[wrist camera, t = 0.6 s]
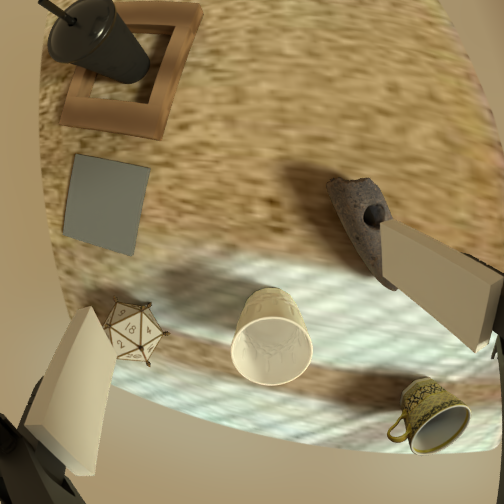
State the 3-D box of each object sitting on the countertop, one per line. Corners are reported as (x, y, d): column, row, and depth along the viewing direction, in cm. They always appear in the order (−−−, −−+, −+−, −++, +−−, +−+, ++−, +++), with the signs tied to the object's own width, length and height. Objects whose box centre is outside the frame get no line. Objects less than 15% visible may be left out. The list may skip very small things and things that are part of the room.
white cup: (236, 336, 40) (228, 381, 30) (241, 279, 38) (233, 312, 28) (297, 342, 39) (305, 387, 30) (306, 285, 38) (319, 320, 28)
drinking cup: (101, 60, 32) (6, 3, 13) (150, 32, 31) (76, -50, 12) (115, 104, 33) (9, 60, 14) (167, 76, 33) (87, -1, 13)
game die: (162, 304, 43) (192, 334, 35) (134, 352, 42) (157, 391, 34) (110, 275, 38) (127, 302, 30) (81, 328, 36) (92, 367, 28)
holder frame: (112, 11, 30) (103, 3, 27) (203, 14, 30) (199, 3, 28) (71, 126, 34) (58, 124, 31) (161, 141, 34) (152, 137, 31)
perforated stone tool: (401, 272, 37) (425, 290, 30) (367, 291, 38) (385, 313, 31) (355, 163, 34) (375, 160, 27) (317, 182, 35) (329, 182, 28)
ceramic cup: (449, 362, 40) (479, 397, 30) (436, 408, 42) (459, 445, 32) (377, 377, 40) (399, 420, 31) (368, 424, 42) (384, 467, 33)
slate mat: (78, 154, 35) (75, 153, 34) (150, 168, 35) (148, 168, 34) (66, 233, 37) (62, 234, 37) (133, 254, 38) (131, 256, 37)
